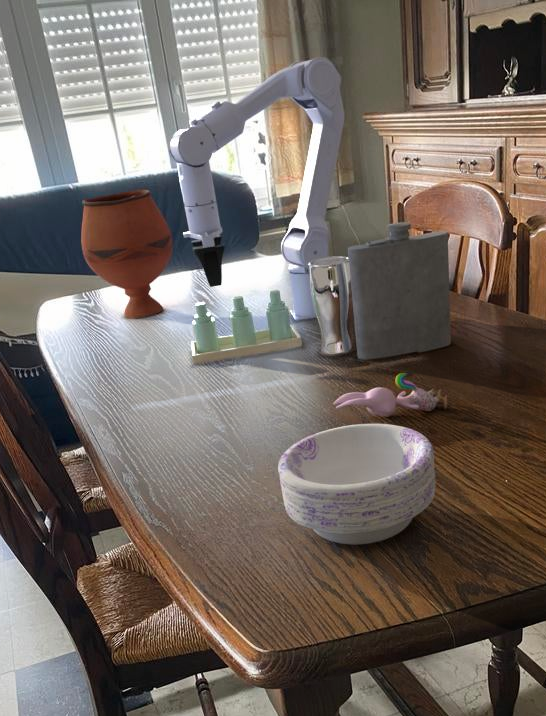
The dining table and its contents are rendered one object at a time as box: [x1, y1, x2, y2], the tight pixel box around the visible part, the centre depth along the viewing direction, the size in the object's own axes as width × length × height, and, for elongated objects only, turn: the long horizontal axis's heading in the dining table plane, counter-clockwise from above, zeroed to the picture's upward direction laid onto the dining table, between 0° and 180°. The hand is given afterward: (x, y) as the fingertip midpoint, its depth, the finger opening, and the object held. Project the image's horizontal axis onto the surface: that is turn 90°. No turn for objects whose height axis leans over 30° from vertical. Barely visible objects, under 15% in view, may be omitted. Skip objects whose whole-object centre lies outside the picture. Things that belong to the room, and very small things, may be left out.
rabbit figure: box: [333, 372, 448, 418], centre depth 98 cm, size 6×6×15 cm
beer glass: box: [309, 255, 357, 357], centre depth 123 cm, size 7×7×15 cm
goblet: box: [80, 189, 173, 319], centre depth 163 cm, size 19×19×25 cm
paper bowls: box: [277, 423, 436, 546], centre depth 74 cm, size 15×15×8 cm
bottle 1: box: [229, 295, 257, 348], centre depth 132 cm, size 4×4×9 cm
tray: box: [190, 324, 303, 365], centre depth 134 cm, size 19×9×2 cm, turn 99°
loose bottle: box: [191, 301, 220, 354], centre depth 131 cm, size 4×4×9 cm
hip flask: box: [347, 221, 452, 361], centre depth 117 cm, size 16×4×20 cm, turn 103°
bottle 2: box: [265, 289, 292, 342], centre depth 132 cm, size 4×4×9 cm
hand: (214, 281), depth 139 cm, fingers open, 7 cm apart
